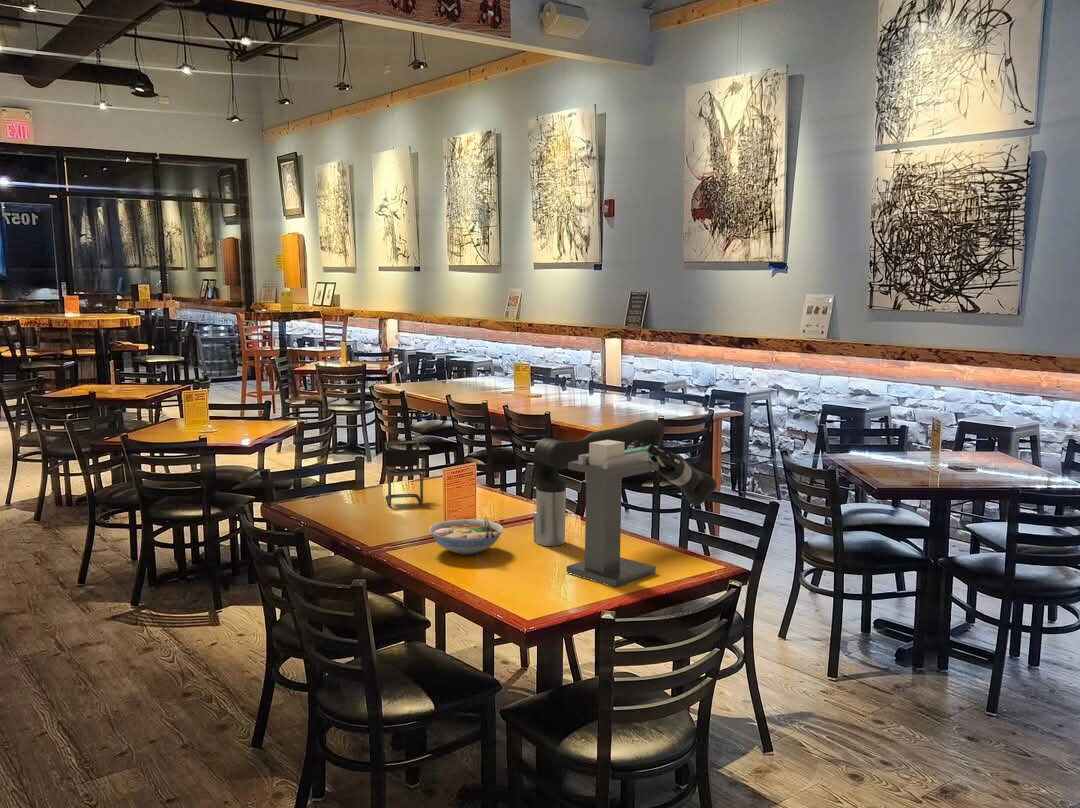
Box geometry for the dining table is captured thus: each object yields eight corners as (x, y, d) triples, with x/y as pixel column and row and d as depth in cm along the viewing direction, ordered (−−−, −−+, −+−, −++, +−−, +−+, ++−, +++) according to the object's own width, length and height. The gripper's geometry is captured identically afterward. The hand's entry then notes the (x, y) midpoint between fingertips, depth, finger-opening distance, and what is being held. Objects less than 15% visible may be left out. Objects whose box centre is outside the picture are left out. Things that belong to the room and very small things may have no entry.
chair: (418, 495, 357) (418, 439, 354) (423, 505, 340) (423, 447, 338) (384, 497, 354) (384, 440, 351) (388, 507, 337) (387, 448, 335)
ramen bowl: (429, 541, 292) (429, 516, 291) (501, 540, 294) (501, 515, 293) (427, 564, 267) (427, 536, 266) (505, 563, 270) (505, 535, 269)
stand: (566, 573, 260) (568, 453, 256) (606, 560, 273) (609, 446, 269) (615, 587, 248) (618, 462, 244) (655, 573, 261) (658, 454, 257)
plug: (588, 464, 254) (589, 442, 253) (646, 453, 273) (646, 433, 272) (605, 467, 250) (606, 445, 249) (662, 455, 268) (663, 435, 268)
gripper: (659, 455, 284) (630, 432, 273) (697, 461, 275) (668, 437, 263) (651, 477, 283) (622, 455, 271) (689, 484, 273) (660, 461, 261)
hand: (645, 446), depth 267 cm, fingers closed on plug, 2 cm apart
